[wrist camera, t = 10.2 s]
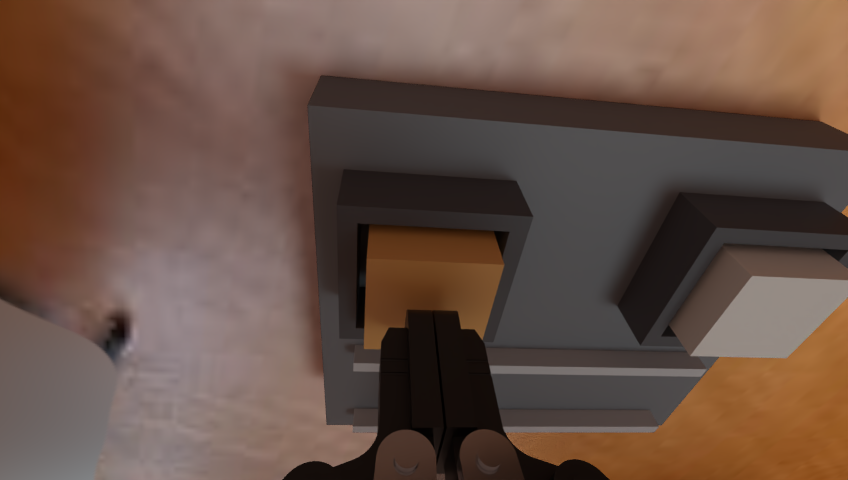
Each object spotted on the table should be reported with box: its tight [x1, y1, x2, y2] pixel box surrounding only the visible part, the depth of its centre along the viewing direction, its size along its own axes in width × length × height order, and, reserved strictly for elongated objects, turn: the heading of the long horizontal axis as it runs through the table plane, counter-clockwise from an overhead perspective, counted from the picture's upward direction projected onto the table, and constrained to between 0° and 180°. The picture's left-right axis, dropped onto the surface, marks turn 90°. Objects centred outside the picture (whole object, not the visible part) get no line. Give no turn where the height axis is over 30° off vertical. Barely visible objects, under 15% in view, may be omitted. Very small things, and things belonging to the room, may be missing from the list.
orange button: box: [364, 224, 504, 349], centre depth 14 cm, size 4×4×2 cm
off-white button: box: [669, 243, 848, 358], centre depth 15 cm, size 4×4×2 cm
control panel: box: [307, 76, 848, 432], centre depth 19 cm, size 20×18×5 cm
